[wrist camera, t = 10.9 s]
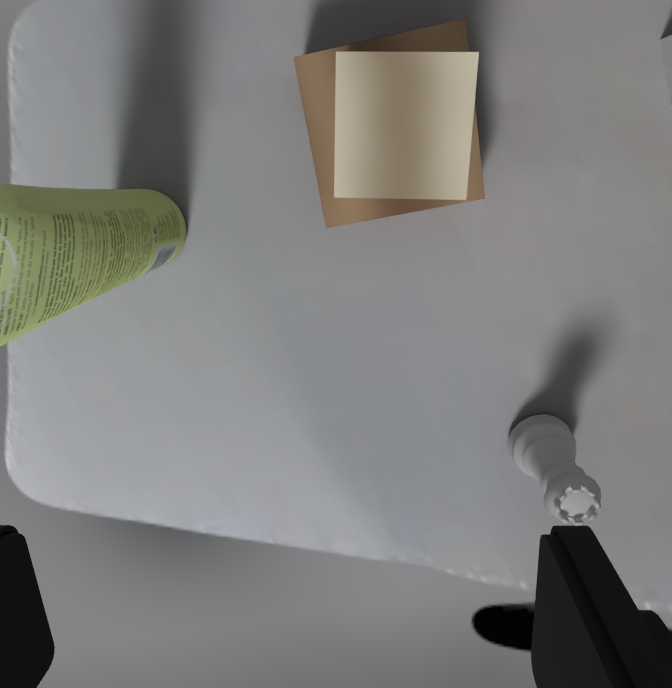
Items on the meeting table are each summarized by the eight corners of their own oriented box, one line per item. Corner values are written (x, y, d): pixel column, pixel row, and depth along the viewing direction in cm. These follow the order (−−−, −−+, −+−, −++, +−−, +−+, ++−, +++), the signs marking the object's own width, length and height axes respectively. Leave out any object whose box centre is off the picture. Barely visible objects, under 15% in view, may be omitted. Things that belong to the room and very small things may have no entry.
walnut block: (454, 35, 32) (466, 18, 28) (472, 194, 34) (484, 198, 31) (302, 69, 33) (293, 57, 29) (331, 221, 35) (326, 228, 32)
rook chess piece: (509, 410, 38) (542, 471, 31) (574, 412, 38) (625, 474, 31) (502, 466, 40) (533, 538, 32) (565, 468, 40) (611, 541, 32)
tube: (93, 198, 36) (-208, 240, 17) (160, 164, 35) (-81, 170, 16) (137, 277, 37) (-95, 396, 19) (203, 247, 36) (27, 339, 18)
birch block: (457, 73, 29) (478, 51, 23) (448, 192, 31) (466, 199, 25) (342, 72, 29) (335, 51, 23) (340, 190, 31) (334, 197, 25)
